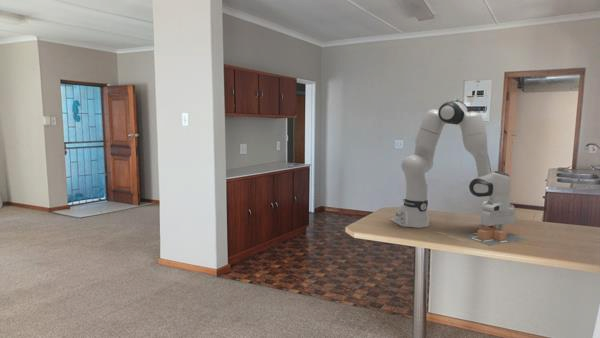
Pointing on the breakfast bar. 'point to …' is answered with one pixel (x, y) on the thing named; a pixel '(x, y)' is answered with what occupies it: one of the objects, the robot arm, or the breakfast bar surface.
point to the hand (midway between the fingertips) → (497, 233)
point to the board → (492, 241)
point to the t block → (491, 234)
